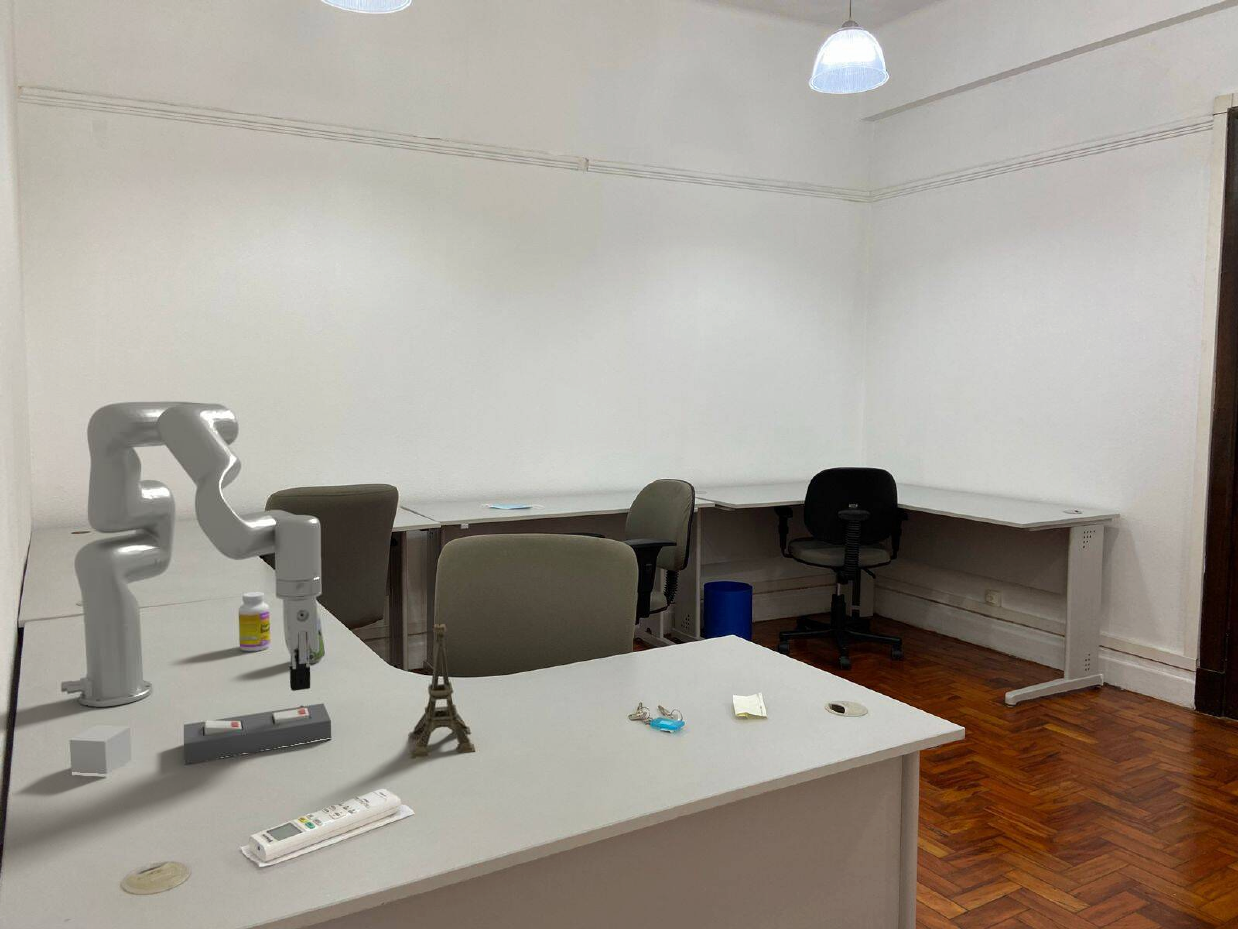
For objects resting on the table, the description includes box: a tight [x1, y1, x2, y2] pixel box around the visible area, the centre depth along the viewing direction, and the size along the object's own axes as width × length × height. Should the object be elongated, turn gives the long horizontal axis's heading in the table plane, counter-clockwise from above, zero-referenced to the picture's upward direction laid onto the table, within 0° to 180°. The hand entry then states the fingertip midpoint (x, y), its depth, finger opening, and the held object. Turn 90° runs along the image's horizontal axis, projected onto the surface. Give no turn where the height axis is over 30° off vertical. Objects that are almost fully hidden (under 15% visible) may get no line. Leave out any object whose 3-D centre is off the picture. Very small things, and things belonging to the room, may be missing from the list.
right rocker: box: [273, 708, 310, 724], centre depth 155 cm, size 6×4×1 cm, turn 116°
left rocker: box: [204, 719, 242, 735], centre depth 150 cm, size 6×4×1 cm, turn 117°
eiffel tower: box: [408, 601, 476, 759], centre depth 152 cm, size 11×11×25 cm
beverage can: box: [309, 611, 326, 664], centre depth 196 cm, size 6×7×12 cm
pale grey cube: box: [69, 724, 132, 774], centre depth 142 cm, size 6×6×6 cm
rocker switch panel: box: [183, 703, 332, 765], centre depth 156 cm, size 23×16×4 cm
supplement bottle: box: [237, 591, 271, 652], centre depth 205 cm, size 7×7×13 cm
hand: (300, 688), depth 155 cm, fingers closed
